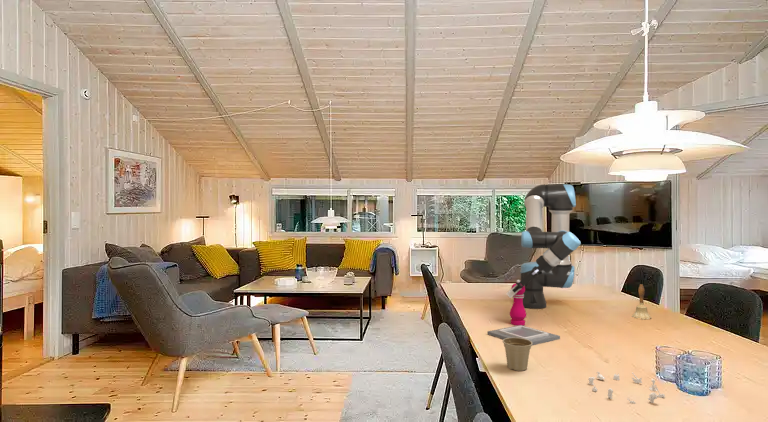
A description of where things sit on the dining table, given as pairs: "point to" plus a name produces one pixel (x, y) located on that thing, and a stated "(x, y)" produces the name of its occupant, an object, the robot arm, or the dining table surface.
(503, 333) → the plate
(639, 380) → the game piece set
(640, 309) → the hand bell
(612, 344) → the dining table surface
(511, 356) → the flower pot
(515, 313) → the pepper mill
